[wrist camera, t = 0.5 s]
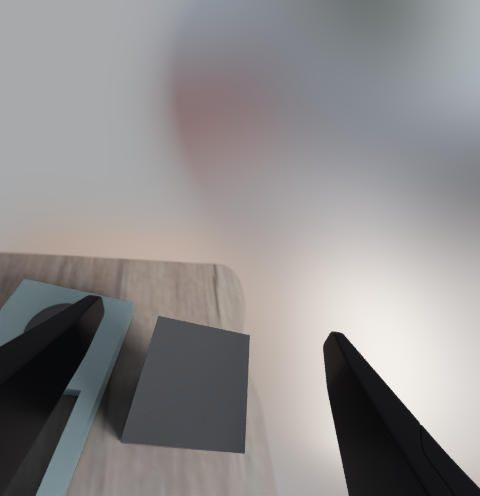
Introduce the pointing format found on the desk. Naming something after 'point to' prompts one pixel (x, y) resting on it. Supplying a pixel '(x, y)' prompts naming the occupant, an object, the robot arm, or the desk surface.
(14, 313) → the socket block
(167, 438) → the square bit
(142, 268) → the desk surface
